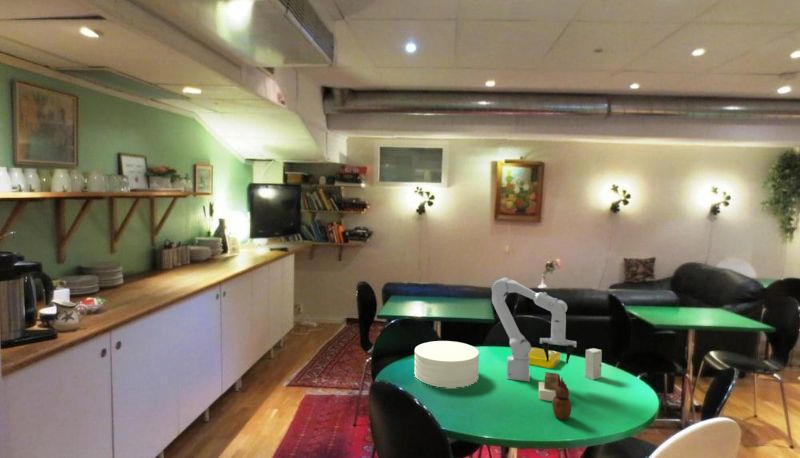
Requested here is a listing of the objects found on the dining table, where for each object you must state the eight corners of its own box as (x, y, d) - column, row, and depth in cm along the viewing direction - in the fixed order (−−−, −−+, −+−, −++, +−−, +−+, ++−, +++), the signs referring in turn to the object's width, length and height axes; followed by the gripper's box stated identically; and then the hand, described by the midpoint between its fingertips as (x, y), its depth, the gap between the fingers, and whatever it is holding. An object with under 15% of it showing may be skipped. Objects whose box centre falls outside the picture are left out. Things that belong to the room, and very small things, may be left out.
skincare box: (593, 380, 204) (594, 352, 203) (584, 376, 208) (585, 349, 207) (601, 377, 207) (602, 350, 207) (592, 374, 211) (593, 347, 210)
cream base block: (538, 400, 184) (539, 390, 183) (538, 391, 192) (538, 381, 192) (563, 403, 181) (563, 393, 181) (561, 394, 190) (562, 384, 190)
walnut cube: (544, 388, 185) (544, 376, 185) (545, 384, 190) (545, 371, 189) (557, 390, 183) (558, 378, 183) (558, 385, 188) (558, 373, 188)
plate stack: (404, 382, 200) (405, 355, 199) (426, 361, 226) (426, 338, 225) (469, 393, 189) (470, 365, 189) (484, 370, 215) (485, 345, 214)
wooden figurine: (549, 413, 172) (550, 373, 171) (565, 413, 172) (566, 372, 171) (557, 422, 165) (558, 380, 164) (573, 421, 165) (574, 379, 164)
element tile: (531, 355, 238) (531, 345, 237) (561, 361, 229) (561, 351, 229) (520, 363, 225) (520, 353, 225) (552, 370, 217) (552, 359, 217)
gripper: (539, 330, 195) (538, 362, 196) (577, 334, 191) (575, 367, 192) (540, 326, 202) (539, 357, 203) (576, 329, 197) (575, 361, 198)
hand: (557, 361), depth 198 cm, fingers open, 7 cm apart
